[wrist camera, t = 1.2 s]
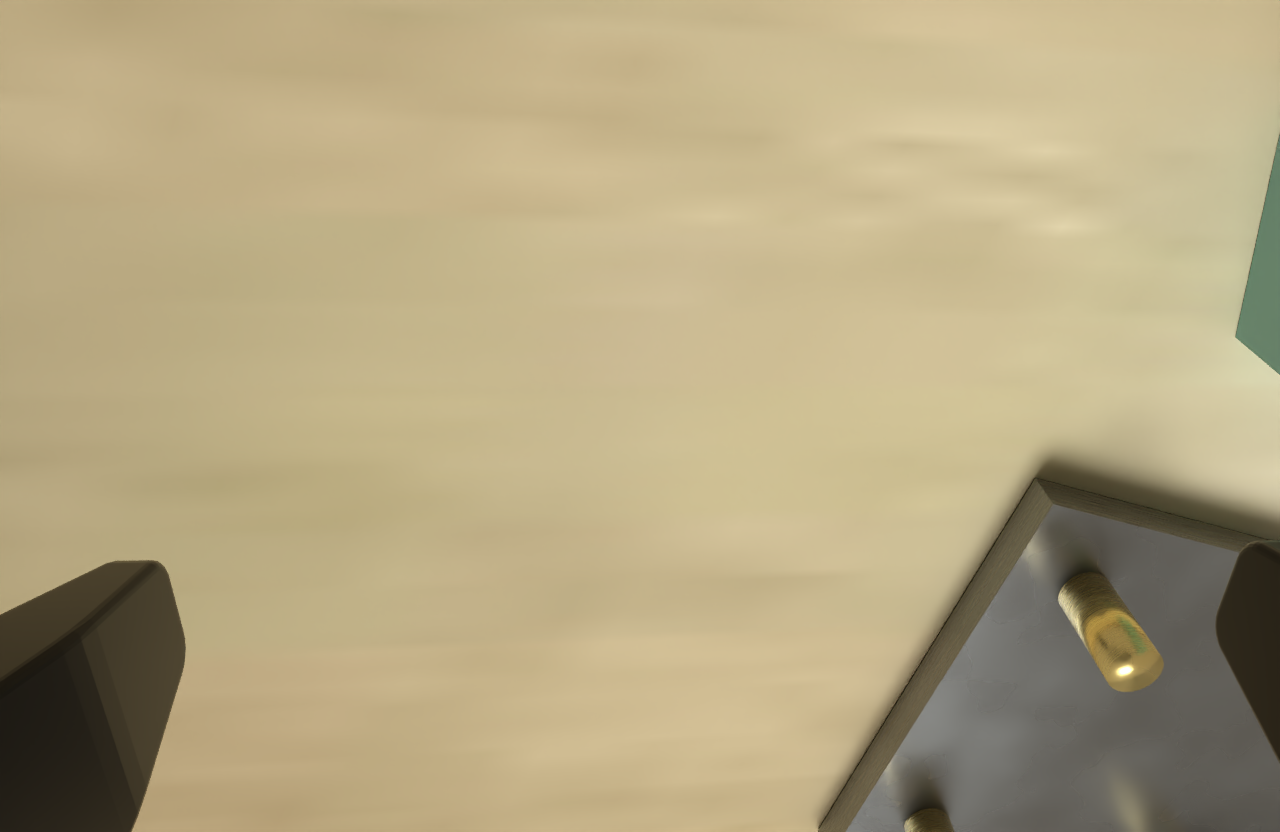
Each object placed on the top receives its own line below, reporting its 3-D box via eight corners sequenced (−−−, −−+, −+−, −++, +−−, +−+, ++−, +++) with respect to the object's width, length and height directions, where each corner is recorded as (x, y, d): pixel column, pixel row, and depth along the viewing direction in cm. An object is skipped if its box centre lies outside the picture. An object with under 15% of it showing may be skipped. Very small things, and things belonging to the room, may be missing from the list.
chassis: (817, 830, 31) (849, 949, 28) (1035, 478, 25) (1104, 578, 22) (1182, 891, 34) (1246, 1004, 31) (1448, 587, 28) (1559, 689, 25)
